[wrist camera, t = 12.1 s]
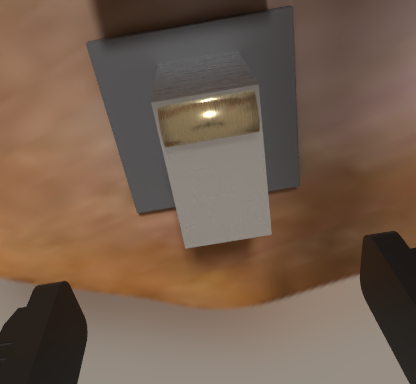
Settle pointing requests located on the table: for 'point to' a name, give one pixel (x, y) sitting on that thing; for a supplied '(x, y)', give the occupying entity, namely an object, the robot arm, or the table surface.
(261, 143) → the lever cap
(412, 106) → the table surface
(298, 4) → the table surface
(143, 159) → the rubber mat
